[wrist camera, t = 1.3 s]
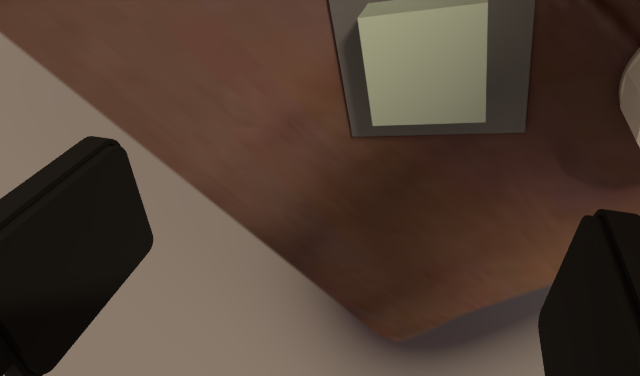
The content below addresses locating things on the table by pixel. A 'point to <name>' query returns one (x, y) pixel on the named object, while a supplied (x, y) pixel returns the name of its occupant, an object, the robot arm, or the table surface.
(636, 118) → the bowl
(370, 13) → the block
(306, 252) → the table surface
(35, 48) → the table surface
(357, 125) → the mat
